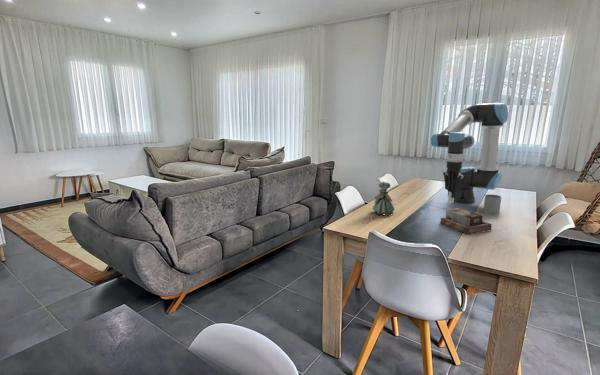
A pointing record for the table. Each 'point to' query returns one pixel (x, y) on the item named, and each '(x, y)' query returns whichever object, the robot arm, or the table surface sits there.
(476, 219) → the coffee box
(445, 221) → the cradle
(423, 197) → the table surface
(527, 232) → the table surface
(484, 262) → the table surface
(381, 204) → the figurine
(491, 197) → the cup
